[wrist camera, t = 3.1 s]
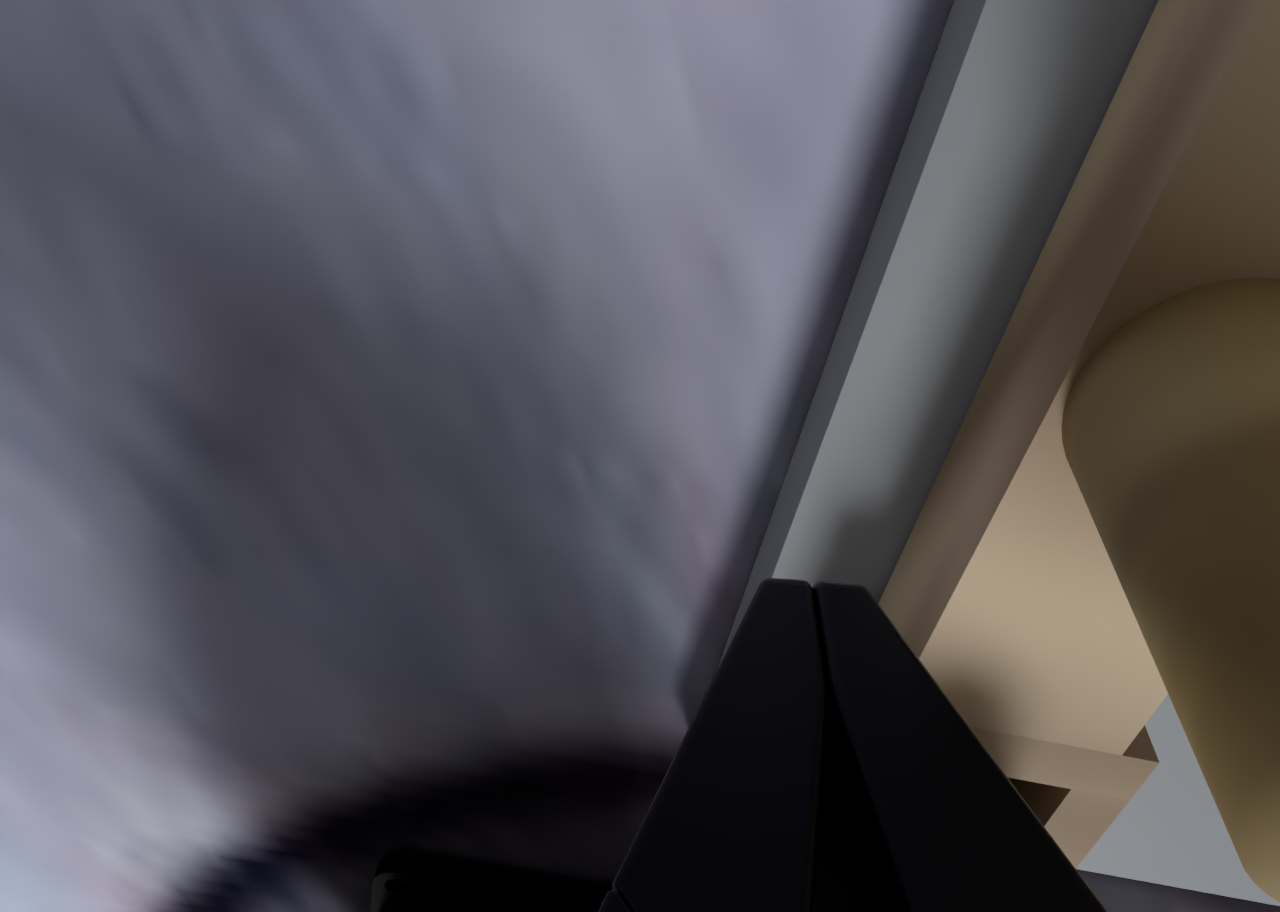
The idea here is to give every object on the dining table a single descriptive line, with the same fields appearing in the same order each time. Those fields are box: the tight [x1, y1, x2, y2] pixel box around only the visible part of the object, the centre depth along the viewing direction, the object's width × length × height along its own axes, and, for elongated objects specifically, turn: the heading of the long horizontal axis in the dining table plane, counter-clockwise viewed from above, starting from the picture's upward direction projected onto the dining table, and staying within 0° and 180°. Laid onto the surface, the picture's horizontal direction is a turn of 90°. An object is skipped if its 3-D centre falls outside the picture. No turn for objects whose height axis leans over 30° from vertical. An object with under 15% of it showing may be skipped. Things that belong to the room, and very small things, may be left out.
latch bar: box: [878, 0, 1280, 903], centre depth 10 cm, size 14×4×6 cm, turn 169°
